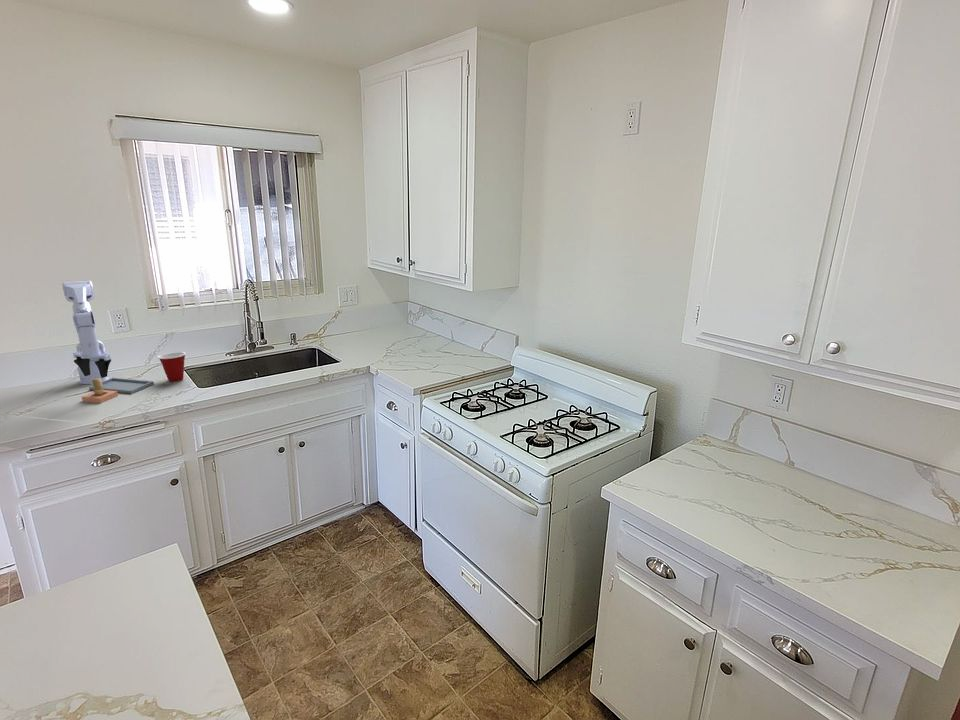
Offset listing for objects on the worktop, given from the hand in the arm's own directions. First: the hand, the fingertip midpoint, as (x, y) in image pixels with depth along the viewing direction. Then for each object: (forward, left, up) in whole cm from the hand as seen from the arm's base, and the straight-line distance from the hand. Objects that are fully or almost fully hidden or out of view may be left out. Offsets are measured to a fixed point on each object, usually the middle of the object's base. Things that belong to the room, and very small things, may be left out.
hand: (95, 376), depth 206 cm
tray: (-2, +13, -10) cm, 16 cm away
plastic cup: (+12, +27, -10) cm, 31 cm away
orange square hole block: (0, 0, -10) cm, 10 cm away
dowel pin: (0, 0, -10) cm, 10 cm away
